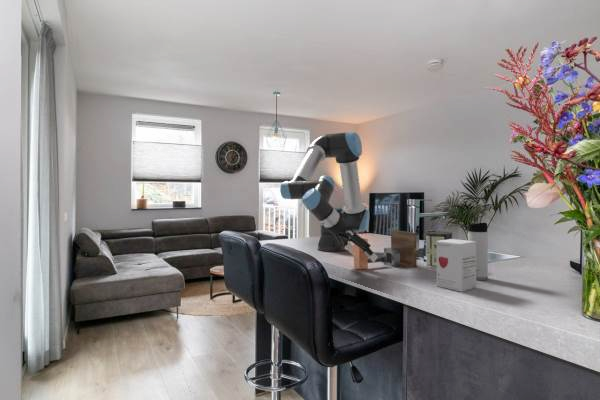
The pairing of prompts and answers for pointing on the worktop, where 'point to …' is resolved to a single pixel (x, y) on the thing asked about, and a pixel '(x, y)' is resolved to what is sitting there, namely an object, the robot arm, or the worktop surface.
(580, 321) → the worktop surface
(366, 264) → the upright wooden block
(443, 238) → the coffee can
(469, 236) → the travel mug
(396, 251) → the grey thick square slab
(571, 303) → the worktop surface
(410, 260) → the backboard
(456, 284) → the supplement box
